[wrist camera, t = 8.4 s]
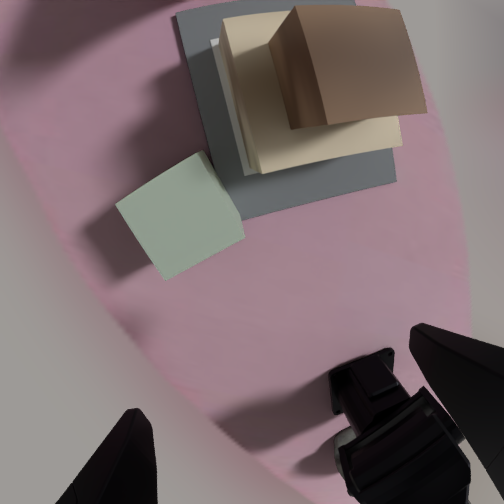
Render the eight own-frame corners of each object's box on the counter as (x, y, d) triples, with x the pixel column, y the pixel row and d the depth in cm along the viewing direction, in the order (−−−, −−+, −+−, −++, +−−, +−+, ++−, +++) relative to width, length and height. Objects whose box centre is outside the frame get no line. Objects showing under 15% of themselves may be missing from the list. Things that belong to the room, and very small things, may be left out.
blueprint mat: (394, 181, 20) (397, 181, 19) (228, 222, 19) (229, 224, 19) (351, -3, 15) (353, -4, 14) (175, 14, 14) (175, 12, 13)
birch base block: (367, 143, 18) (402, 145, 14) (249, 168, 18) (262, 173, 14) (340, 31, 15) (369, 11, 11) (218, 44, 15) (222, 18, 11)
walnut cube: (371, 116, 14) (427, 112, 9) (290, 129, 13) (327, 124, 9) (351, 37, 12) (399, 9, 8) (267, 43, 12) (294, 5, 8)
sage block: (240, 214, 18) (245, 237, 14) (177, 249, 19) (165, 281, 15) (203, 149, 17) (196, 152, 13) (139, 188, 17) (115, 204, 13)
